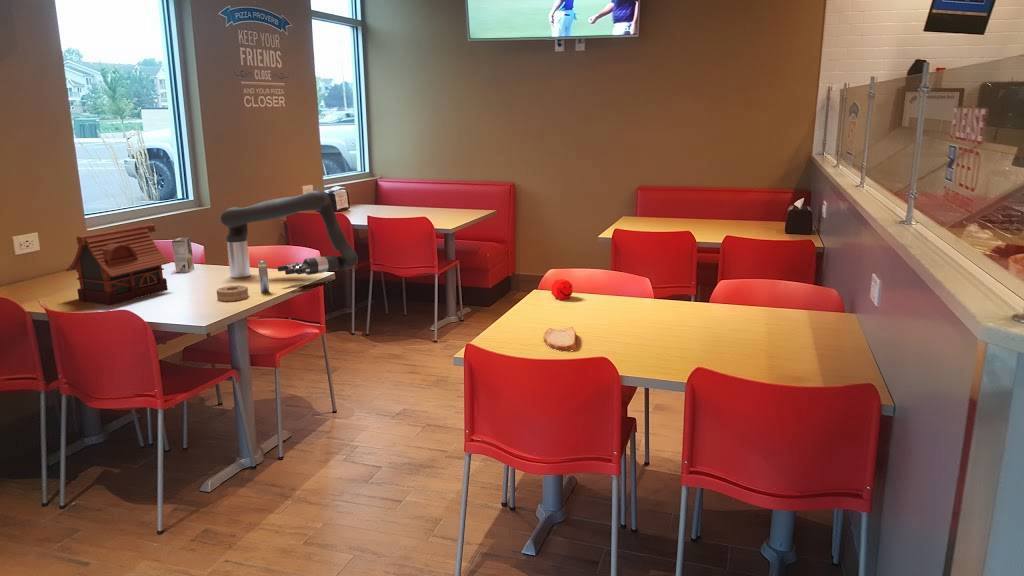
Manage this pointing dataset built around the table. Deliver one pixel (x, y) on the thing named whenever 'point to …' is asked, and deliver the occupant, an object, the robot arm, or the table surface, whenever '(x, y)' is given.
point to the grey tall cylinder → (263, 276)
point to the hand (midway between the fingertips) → (281, 270)
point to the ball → (561, 289)
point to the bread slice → (561, 339)
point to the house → (119, 265)
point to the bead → (232, 293)
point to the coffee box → (183, 254)
